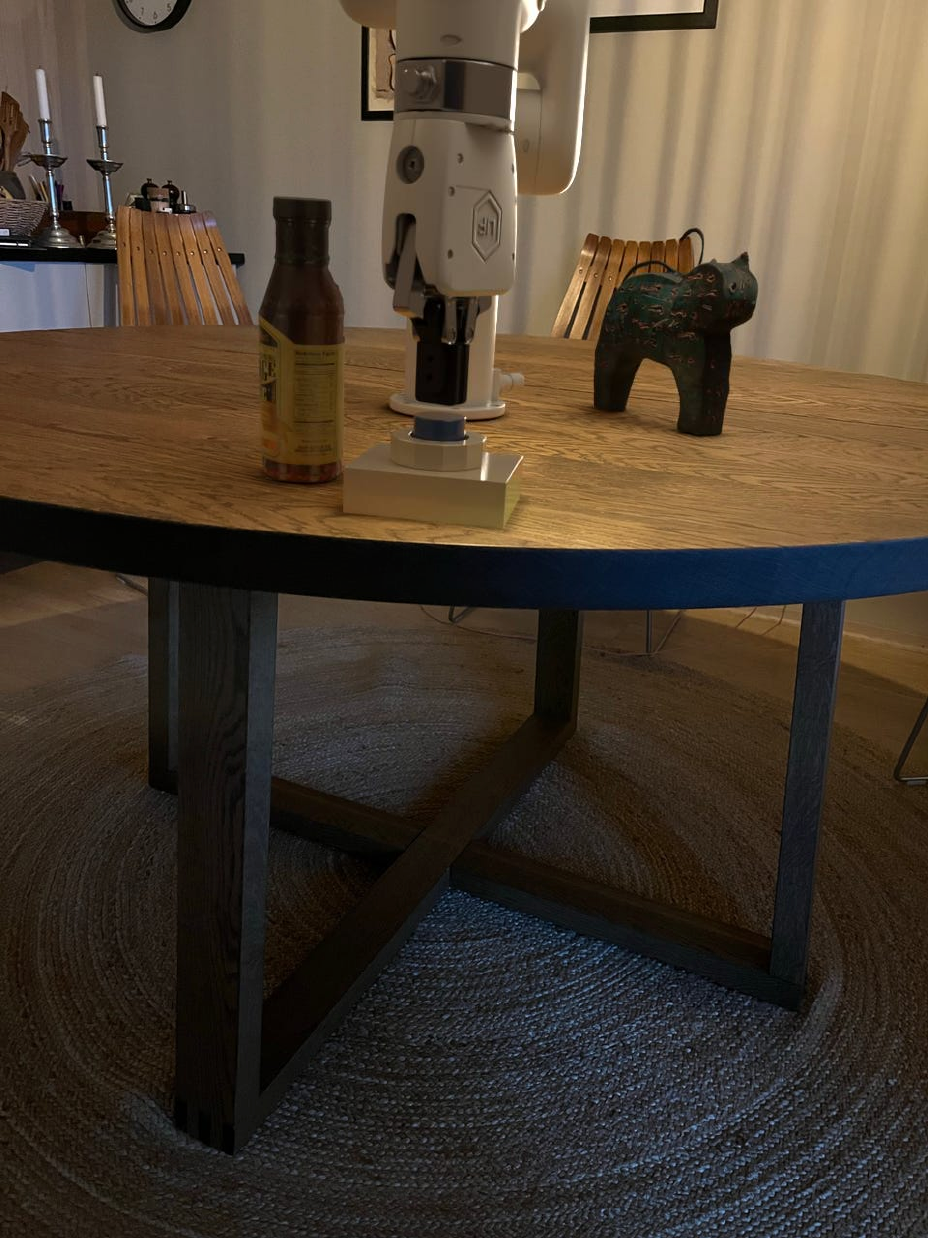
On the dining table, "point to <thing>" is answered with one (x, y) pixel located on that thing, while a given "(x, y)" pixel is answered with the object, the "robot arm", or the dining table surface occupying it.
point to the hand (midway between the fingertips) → (440, 401)
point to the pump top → (439, 426)
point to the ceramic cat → (676, 335)
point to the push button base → (434, 481)
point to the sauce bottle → (302, 349)
